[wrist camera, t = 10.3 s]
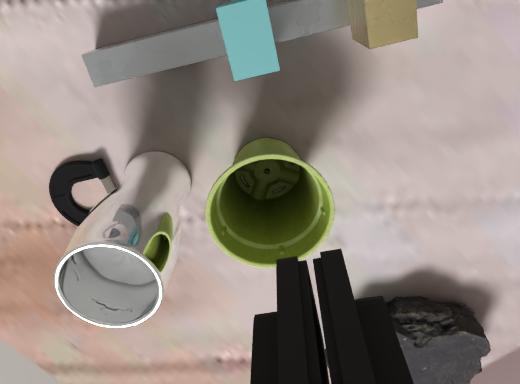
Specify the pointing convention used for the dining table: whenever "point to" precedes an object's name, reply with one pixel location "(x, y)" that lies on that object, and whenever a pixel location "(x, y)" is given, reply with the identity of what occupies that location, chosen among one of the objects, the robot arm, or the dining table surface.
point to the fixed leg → (382, 21)
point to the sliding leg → (248, 38)
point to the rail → (211, 40)
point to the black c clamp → (67, 178)
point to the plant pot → (269, 206)
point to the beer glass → (126, 246)
